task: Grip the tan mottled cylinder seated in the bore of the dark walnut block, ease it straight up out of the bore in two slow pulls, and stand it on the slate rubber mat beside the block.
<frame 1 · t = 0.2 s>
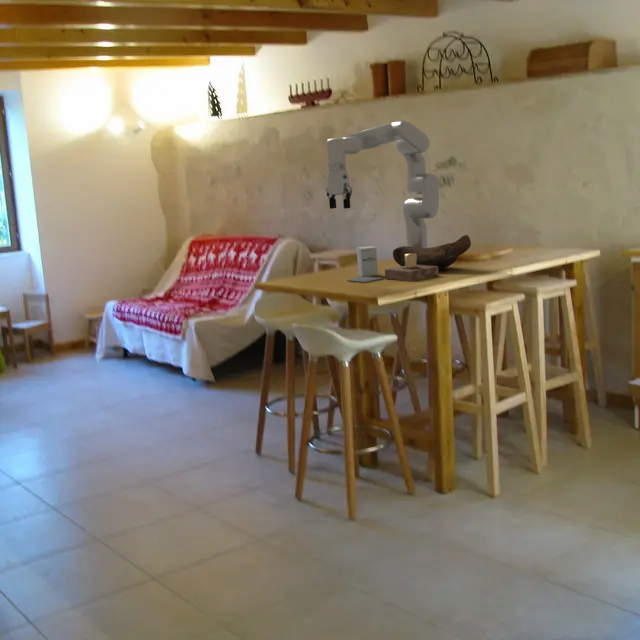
hand: (340, 208, 353), 31 cm above the table, tool pointing down, fingers open, 9 cm apart
supplement box: (368, 275, 367), on the table
tan mottled cylinder: (411, 265, 350), in the bore block
driftwood: (432, 270, 368), on the table, touching arm
bore block: (411, 277, 351), on the table
slate mat: (365, 280, 352), on the table
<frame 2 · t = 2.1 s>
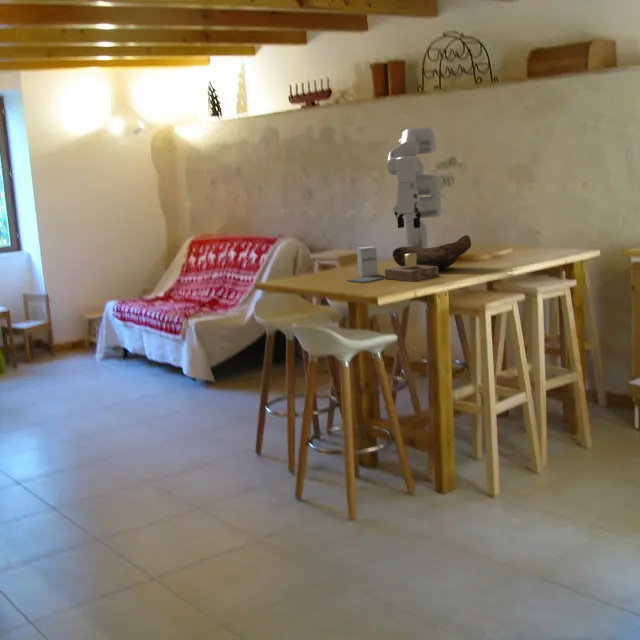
hand: (408, 227, 346), 21 cm above the table, tool pointing down, fingers open, 9 cm apart
driftwood: (432, 270, 368), on the table
everything else where it was.
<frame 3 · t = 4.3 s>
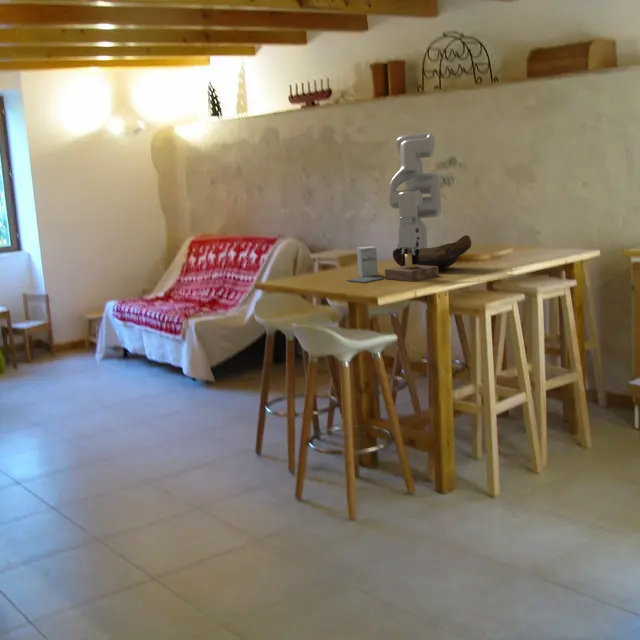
hand: (411, 263, 349), 6 cm above the table, tool pointing down, fingers closed on tan mottled cylinder, 5 cm apart
tan mottled cylinder: (411, 265, 350), in the bore block, touching gripper
everything else where it was.
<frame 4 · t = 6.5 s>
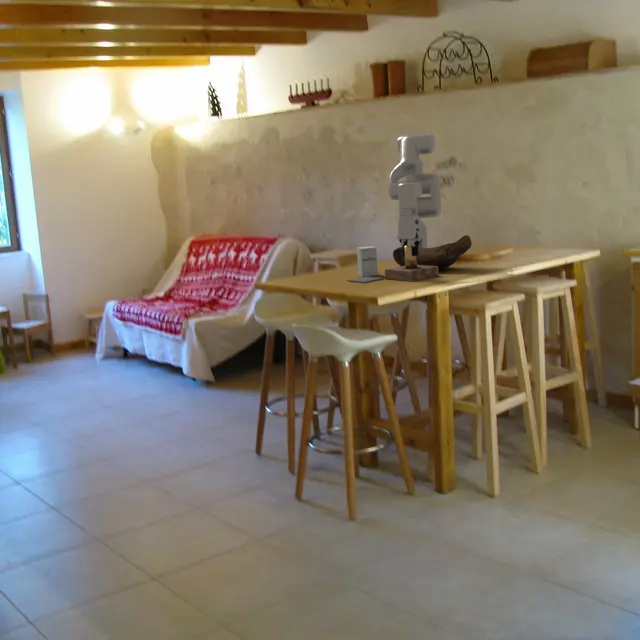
hand: (410, 255, 349), 10 cm above the table, tool pointing down, fingers closed on tan mottled cylinder, 5 cm apart
tan mottled cylinder: (410, 257, 349), point 9 cm above the table, touching gripper
everything else where it was.
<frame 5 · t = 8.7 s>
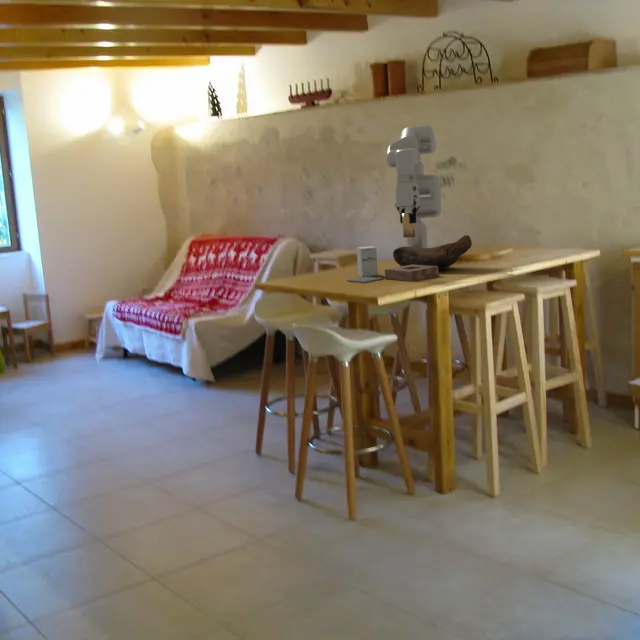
hand: (408, 222, 346), 23 cm above the table, tool pointing down, fingers closed on tan mottled cylinder, 5 cm apart
tan mottled cylinder: (408, 224, 346), point 22 cm above the table, touching gripper
everything else where it was.
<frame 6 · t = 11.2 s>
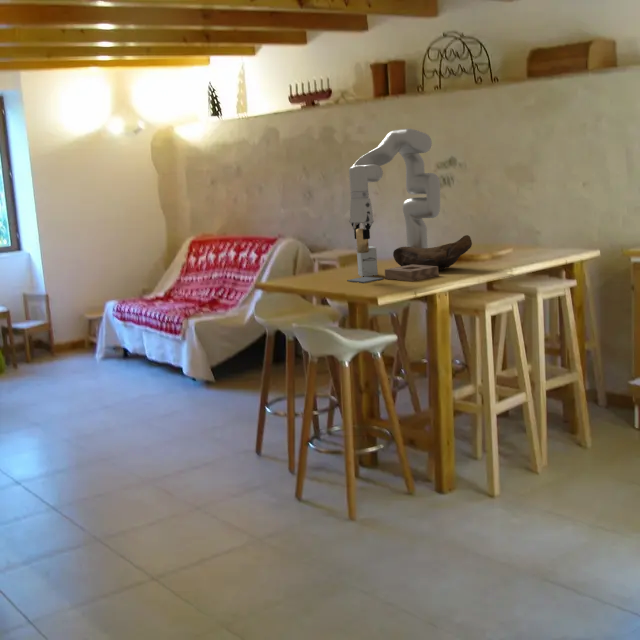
hand: (362, 238, 349), 18 cm above the table, tool pointing down, fingers closed on tan mottled cylinder, 5 cm apart
tan mottled cylinder: (362, 240, 349), point 17 cm above the table, touching gripper
everything else where it was.
when the fingers open (8 cm above the table, at t = 13.3 s): tan mottled cylinder drops 1 cm, resting on slate mat.
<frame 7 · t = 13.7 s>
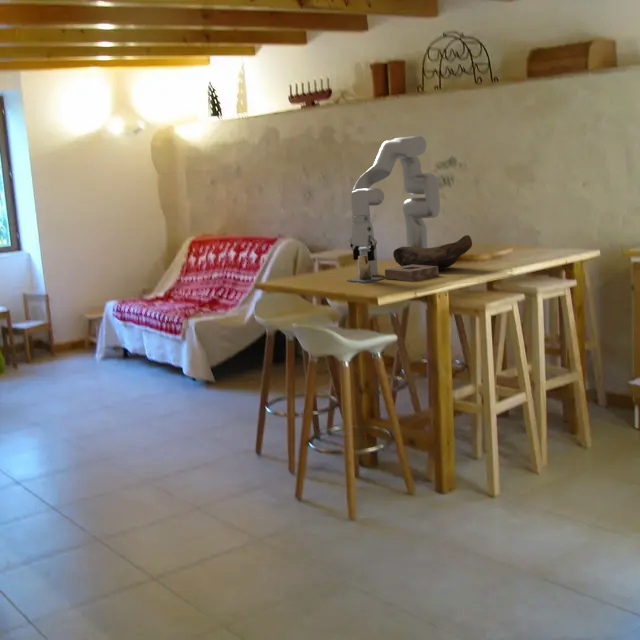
hand: (363, 259, 350), 9 cm above the table, tool pointing down, fingers open, 9 cm apart
tan mottled cylinder: (364, 267, 351), on the slate mat, point 6 cm above the table
everything else where it was.
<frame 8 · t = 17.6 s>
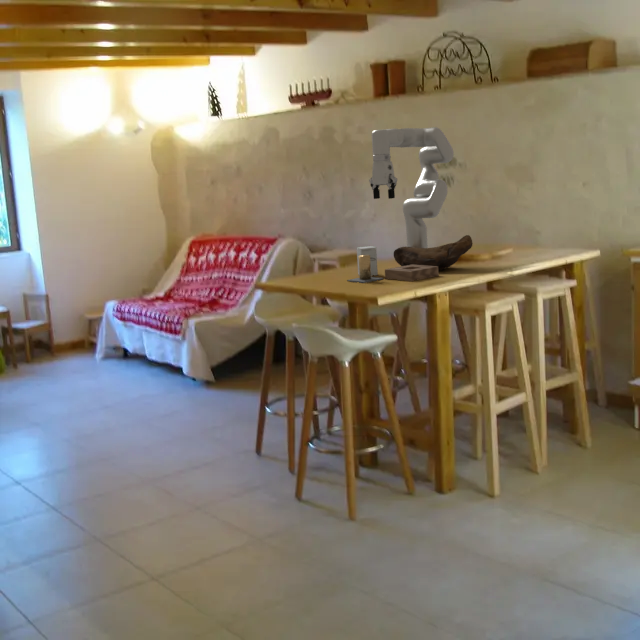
hand: (384, 198, 360), 33 cm above the table, tool pointing down, fingers open, 9 cm apart
nothing on the table moved.
at the end: tan mottled cylinder 0.1 cm off-centre on the slate mat, point 5.7 cm above the slate mat's base; tan mottled cylinder tilted 2°; the gripper is holding nothing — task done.
